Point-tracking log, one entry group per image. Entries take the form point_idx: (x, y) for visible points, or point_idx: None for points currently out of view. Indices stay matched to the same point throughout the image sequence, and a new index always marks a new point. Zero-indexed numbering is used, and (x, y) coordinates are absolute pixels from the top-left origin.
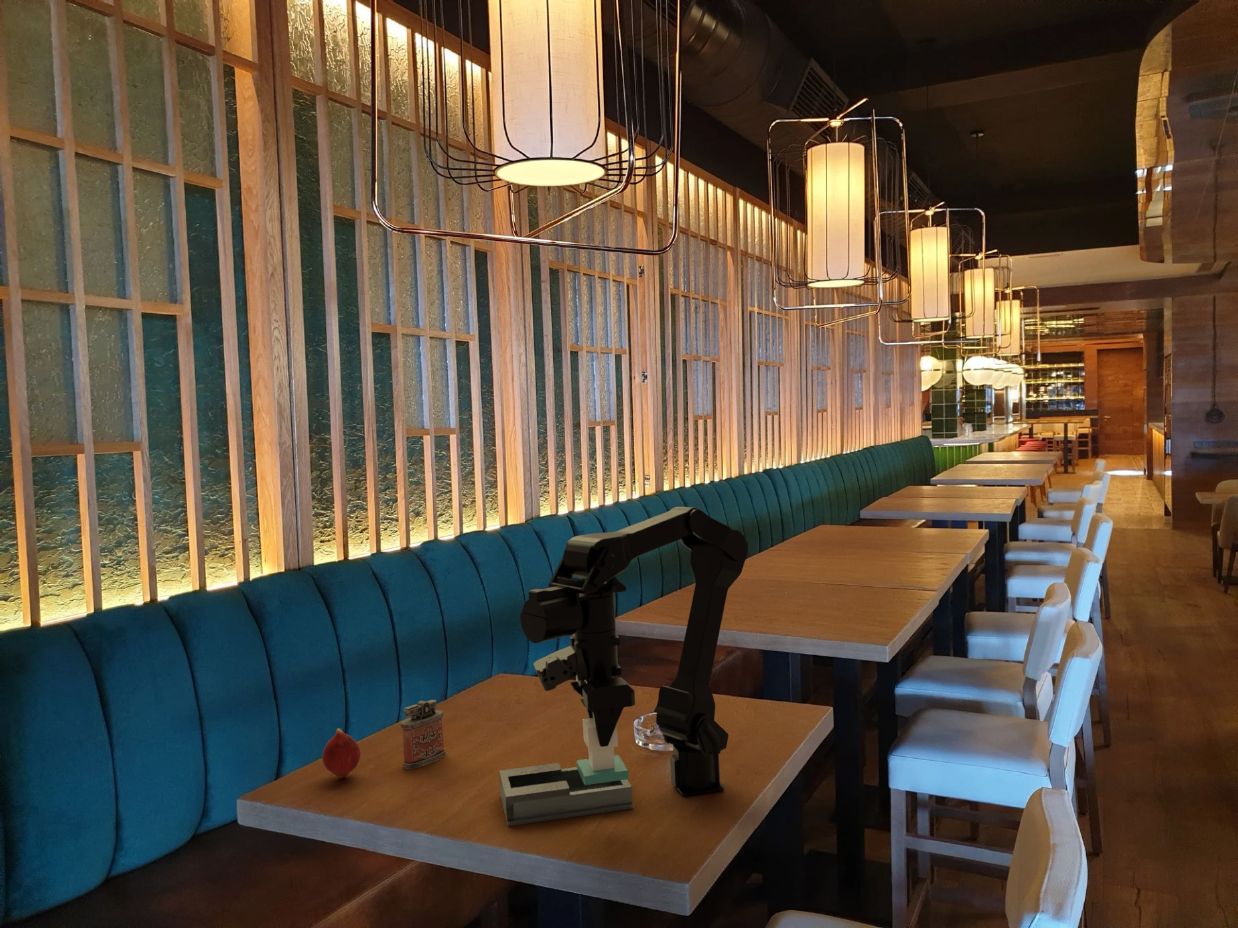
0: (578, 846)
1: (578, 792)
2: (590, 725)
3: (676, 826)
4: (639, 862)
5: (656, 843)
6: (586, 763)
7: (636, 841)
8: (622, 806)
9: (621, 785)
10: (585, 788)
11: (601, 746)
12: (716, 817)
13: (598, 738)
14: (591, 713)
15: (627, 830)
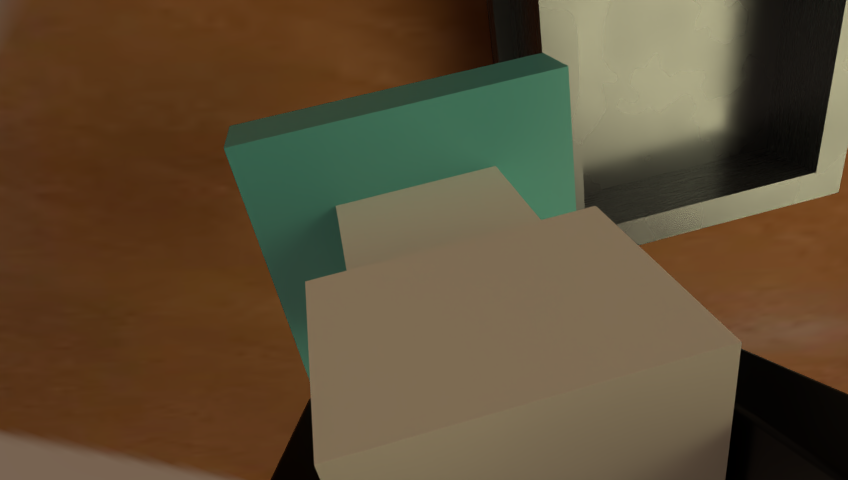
0: (161, 5)
1: (558, 16)
2: (429, 472)
3: None
4: (31, 269)
5: (204, 317)
6: (484, 147)
7: (219, 250)
8: None
9: None
10: (732, 29)
11: (310, 401)
12: None
13: (292, 453)
14: (789, 472)
15: None
